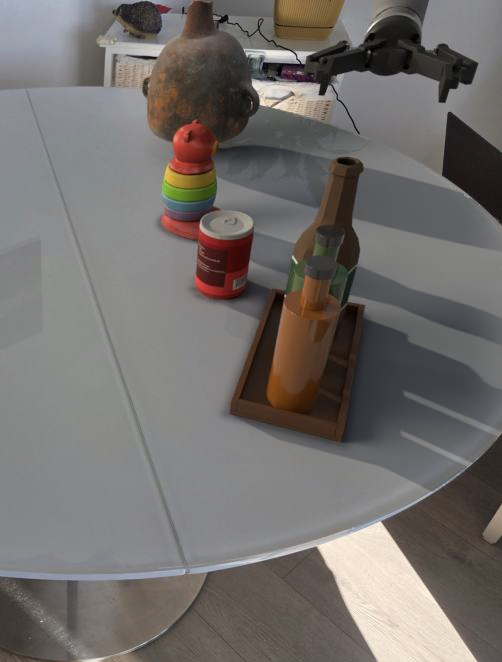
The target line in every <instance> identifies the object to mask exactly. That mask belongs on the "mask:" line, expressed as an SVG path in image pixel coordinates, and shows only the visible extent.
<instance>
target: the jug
mask: <svg viewBox="0 0 502 662" xmlns="http://www.w3.org/2000/svg"><path fill="white" fill-rule="evenodd" d="M213 4H214V1H213V0H192V1H191V3H190V4H189V6H188V7H187V9H186V16H185V17H186V18H185V23H184V26H183V30H182V31H181V33H180V34H178V35H176V36H174V37H173V38H171V39H170V40H169V41H168V42H167V43H166V44H165V46H164V47H163V48H162V49H161V51H160V53H159V54H158V56H157V58H156V59H155V62H154V64H153V67H152V70H151V73H150V74H149V75H147V76H146V77H144V79H143V80H142V84H141V86H142V87H141V88H142V89H141V92H142V95H143V96H144V98H145V99H146V117H147V118H146V119H147V124H148V127H149V130H150V132H151V133H152V134H153V135H154V136H155V137H157V138H158V139H160V140H163V141H165V142H168V143H172V144H173V138H174V136H175V134H176V132H177V131H178V130H179V129H180V128H181V127H183V126H185V125H188V124H192V122H193V121H194V120H199V124H202V125H204V126H206V127H208V128H209V130H210V131H211V132H212V134H213V135H214V137H215V138H216V139H217V141H218V144H221V143H224V142H227V141H229V140H232V139H234V138H235V137H237V136H239V135H240V134H241V133H243V132H244V130H245V129H246V128H247V125H248V123H249V120H250V118H251V117H253V116H254V115H256V114H257V112H258V111H259V109H260V103H261V99H260V95H259V93H258V91H257V90H256V88H254V86H253V79H252V72H251V68H250V63H249V61H248V57H247V55H246V52H245V49H244V47H243V46H242V44H241V42H239V40H238V39H237V38H236V37H235V36H234V35H232V34H231V33H229V32H228V31H225V30H223V29H220V24H219V21H217V20H214V14H213V13H214V12H213V6H214V5H213Z"/></svg>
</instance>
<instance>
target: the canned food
mask: <svg viewBox="0 0 502 662" xmlns="http://www.w3.org/2000/svg"><path fill="white" fill-rule="evenodd" d="M254 233H255V221H254V219H253V217H251V216H250V215H248V214H247V213H245V212H242V211H239V210H233V209H221V210H219V211H214V212H210V213H208V214H206V215H205V216H203V217H202V219H201V221H200V228H199V238H198V240H197V253H196V265H195V266H196V267H195V277H194V283H195V286H196V289H197V290H198V292H199V293H201V294H202V295H204V296H206V297H207V298H211V299H215V300H228V299H232V298H235V297H237V296H239V295H240V294H241V293H242V292H243V291H244V290H245V288H246V285H247V280H248V274H249V267H250V262H251V261H250V260H251V254H252V248H253V240H254V235H255V234H254Z"/></svg>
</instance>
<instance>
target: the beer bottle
mask: <svg viewBox="0 0 502 662" xmlns="http://www.w3.org/2000/svg"><path fill="white" fill-rule="evenodd" d="M327 169H328V171H329V173H328V176H327V177H328V178H327V182H326V184H325V188H324V191H323V195H322V199H321V201H320V206H319V209H318V212H317V214H316V216H315V219H314V221H313V222H312V224H310V225H309V226H308V227H307V228H306V229H304V231H302V233H301V234H300V236H299V237H298V239H297V241H296V242H295V245H294V248H293V252H292V255H291V260H290V267H289V272H288V275H287V281H286V286H285V297H286V296H287V295H288V294H289V293H290V289H291V284H292V279H293V274H294V269H295V266H296V264H297V263H298V262H300V261H302V260H305V259H308V258H309V257H311V256H312V254H313V250H314V245H315V241H314V236H315V231H316V228H317V227H319V226H321V225H334V226H338V227H340V228H342V229H343V230H344V231H345V235H344V239H343V243H342V244H341V245H340V247H339V251H338V255H337V259H336V262H337V263H339V264H341V265H342V266H344V267H345V268H346V270H347V271H348V278H347V282H346V286H345V289H344V293H343V297H342V301H341V311H340V315H339V319H338V322H337V326H336V330H335V333H336V332H337V331H338V330H339V328H340V326H341V323H342V320H343V317H344V313H345V309H346V305H347V302H349V297H350V294H351V291H352V286H353V283H354V280H355V276H356V272H357V268H358V265H359V260H360V253H361V246H360V240H359V239H360V238H359V237H358V234H357V233H356V231H355V229H354V226H353V214H354V208H355V203H356V197H357V192H358V185H359V179H360V175H361V174H363V172H364V163H363V162H362V161H361V160H360V159H359V158H356V157H351V156H339V157H336V158H334V159H332V160H331V161H330V163H329V165H328V168H327ZM285 297H284V299H285ZM283 303H284V302H283ZM282 308H283V307H282ZM281 314H282V313H281Z"/></svg>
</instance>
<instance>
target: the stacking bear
mask: <svg viewBox="0 0 502 662" xmlns="http://www.w3.org/2000/svg"><path fill="white" fill-rule="evenodd" d="M219 145H220V144H219V143H218V141H217V139H216V138H215V137H214V135H213V134H212V132H211V131H210V130H209V128H208V127H206V126H204V125H202V124H199V120H194V121H193V122H192V124H188V125H185V126H183V127H181V128H180V129H179V130H178V131H177V132H176V134H175V136H174V138H173V143H172V150H173V153H174V157H173V158H172V159H171V160H170V162H169V163H168V164H167V166H166V169H165V172H164V177H163V178H162V179H163V180H162V184H161V198H162V203H163V209H164V212H163V214H162V216H161V224H162V226H163V227H164V228H165V229H166V230H168V231H169V232H171V233H172V234H175V235H177V236H179V237H183V238H187V239H191V240H197V241H198V238H199V228H200V221H201V219H202V217H203V216H205V215H206V214H208V213H210V212H214V211H219V210H222V209H221V208H219V207H218V206H215V205H214V204H215V201H216V198H217V193H218V192H217V191H218V178H217V172H216V167H215V162H214V159H212V157H213V156H214V155H215V154H216V153H217V151H218V149H219Z"/></svg>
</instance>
